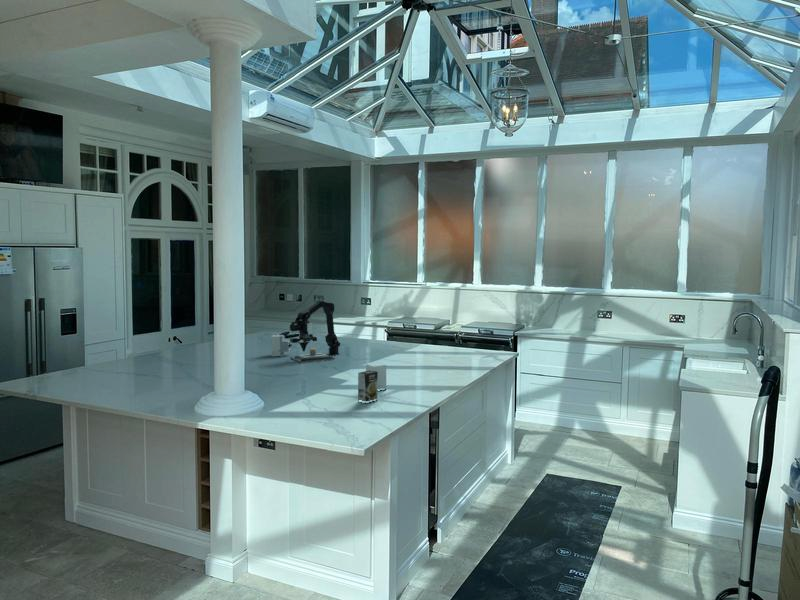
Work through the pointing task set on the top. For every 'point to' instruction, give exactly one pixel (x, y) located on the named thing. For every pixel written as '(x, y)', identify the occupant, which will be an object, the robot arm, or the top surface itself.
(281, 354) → the circuit breaker
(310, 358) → the gray flat tray
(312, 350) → the breaker lever
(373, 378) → the coffee box
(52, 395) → the top surface
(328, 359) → the breaker panel
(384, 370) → the supplement box
